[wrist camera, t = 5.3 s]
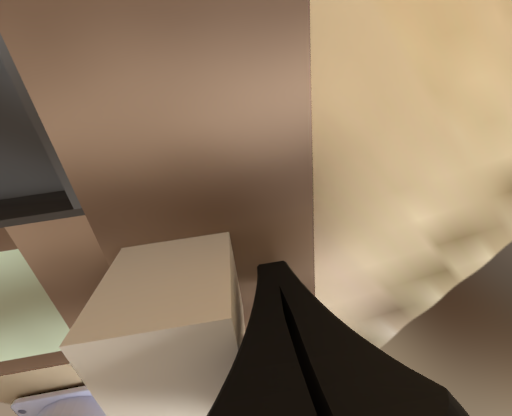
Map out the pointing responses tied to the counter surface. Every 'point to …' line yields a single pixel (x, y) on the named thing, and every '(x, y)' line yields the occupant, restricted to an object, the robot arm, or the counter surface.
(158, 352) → the block
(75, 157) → the trap board
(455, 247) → the counter surface
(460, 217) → the counter surface
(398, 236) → the counter surface
